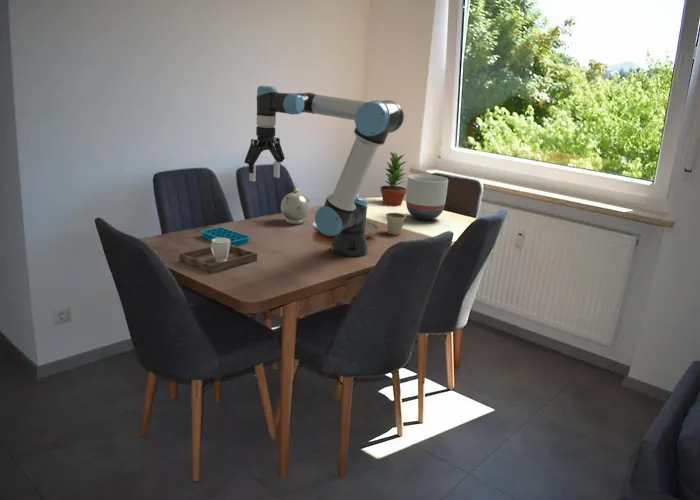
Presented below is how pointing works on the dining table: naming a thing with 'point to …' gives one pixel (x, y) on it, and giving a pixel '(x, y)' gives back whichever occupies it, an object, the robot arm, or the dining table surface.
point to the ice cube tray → (226, 235)
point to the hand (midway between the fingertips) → (264, 179)
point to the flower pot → (395, 223)
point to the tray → (207, 262)
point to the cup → (220, 249)
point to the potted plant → (394, 183)
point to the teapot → (295, 207)
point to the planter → (426, 195)
